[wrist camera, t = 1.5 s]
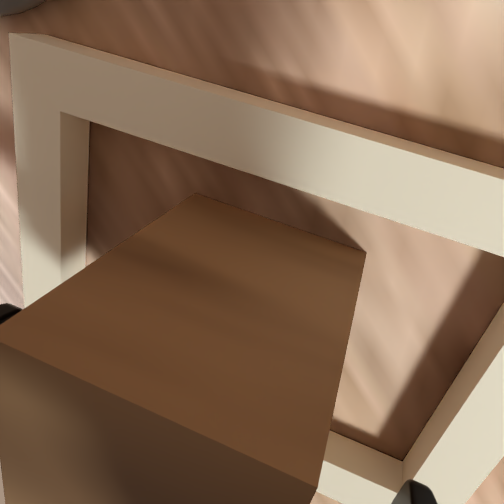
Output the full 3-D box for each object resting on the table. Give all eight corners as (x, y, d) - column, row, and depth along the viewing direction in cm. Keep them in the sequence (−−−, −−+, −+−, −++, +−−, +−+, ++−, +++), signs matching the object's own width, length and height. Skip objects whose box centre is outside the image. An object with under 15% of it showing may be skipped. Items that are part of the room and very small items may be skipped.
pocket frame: (429, 508, 14) (431, 544, 13) (50, 339, 17) (27, 358, 16) (652, 212, 9) (684, 233, 8) (44, 34, 11) (8, 32, 10)
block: (312, 384, 14) (236, 649, 8) (173, 326, 14) (8, 522, 9) (366, 252, 11) (317, 487, 5) (195, 192, 12) (-15, 334, 6)
